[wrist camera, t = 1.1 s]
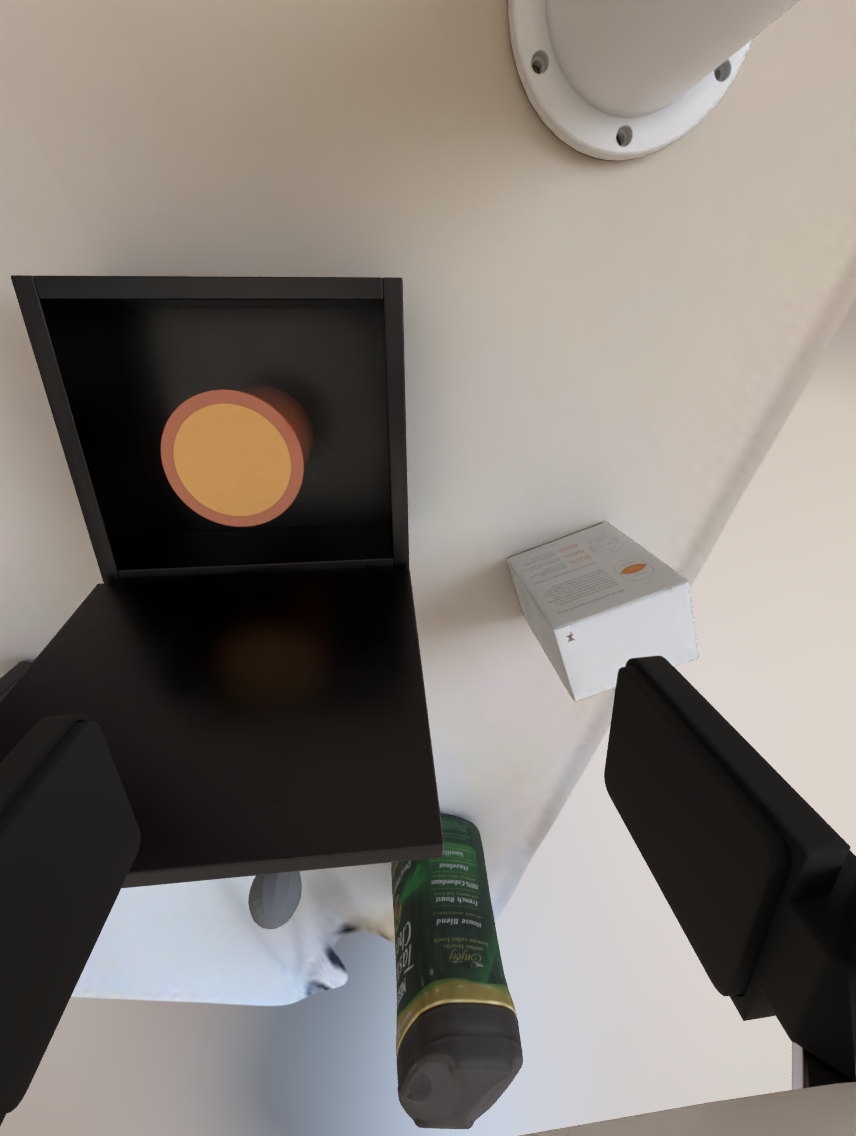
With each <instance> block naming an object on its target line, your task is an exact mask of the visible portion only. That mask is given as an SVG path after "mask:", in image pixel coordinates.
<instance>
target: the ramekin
mask: <svg viewBox="0 0 856 1136" xmlns="http://www.w3.org/2000/svg"><path fill="white" fill-rule="evenodd" d="M313 448H314V432H313V427H312V424H311V421H310V419H309V417H308V415H307V413H306V411H305V410H304V408H303V407H302V406H301V405H300V404H299V402H298V401H297V400H296V399H294V398H293V397H292V396H291V395H289V394H288V393H286V392H284V391H282V390H280V389H278V388H275V387H272V386H267V385H249V386H244V387H241V388H238V389H235V390H233V389H216V390H210V391H205V392H202V393H199V394H197V395H194V396H192V397H191V398H189V399H187V400H185V401H184V402H183V403H182V404H180V405H179V406H178V407H177V408H176V409H175V411H174V412H173V413H172V414H171V416H170V417H169V419H168V421H167V423H166V425H165V427H164V430H163V434H162V439H161V459H162V465H163V468H164V472H165V474H166V477H167V479H168V481H169V483H170V485H171V486H172V488H173V490H174V491H175V492H176V494H177V495H178V496H179V498H180V499H181V500H182V501H183V502H184V503H185V504H186V505H187V506H189V507H190V508H191V509H192V510H193V511H195V512H196V513H198V514H199V515H201V516H203V517H205V518H207V519H209V520H211V521H214V522H216V523H219V524H223V525H227V526H234V527H249V526H256V525H260V524H263V523H266V522H269V521H271V520H273V519H275V518H277V517H278V516H279V515H281V514H282V513H283V512H284V511H285V510H287V509H288V508H289V506H290V505H291V504H292V503H293V501H294V500H295V498H296V496H297V495H298V493H299V490H300V488H301V485H302V481H303V477H304V469H305V468H306V466H307V464H308V462H309V460H310V458H311V456H312V453H313Z"/></svg>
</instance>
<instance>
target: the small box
mask: <svg viewBox="0 0 856 1136" xmlns="http://www.w3.org/2000/svg"><path fill="white" fill-rule="evenodd" d="M507 563H508V566H509V569H510V572H511V576H512V579H513V582H514V585H515V588H516V591H517V595H518V598H519V601H520V604H521V607H522V610H523V614H524V617H525V619H526V621H527V622H528V624H529V626H530V628H531V629H532V631H533V633H534V635H535V636H536V638H537V640H538V641H539V643H540V645H541V646H542V648H543V650H544V652H545V653H546V655H547V657H548V658H549V660H550V662H551V663H552V665H553V667H554V668H555V670H556V672H557V674H558V675H559V677H560V679H561V681H562V682H563V684H564V686H565V687H566V689H567V691H568V692H569V694H570V696H571V697H572V699H573V700H574V701H575V702H578V701H580V700H583V699H586V698H588V697H591V696H594V695H597V694H599V693H602V692H605V691H608V690H611V689H613V688H616V682H617V674H618V670H619V669H620V668H621V667H625V666H626V663H627V661H628V660H629V659H631V658H639V657H649V656H663V657H664V658H665V659H667V660H668V662H669V663H670V664H671V665H672V666H673V667H675V666H677V665H680V664H683V663H686V662H689V661H692V660H694V659H697V658H698V657H699V654H698V647H697V641H696V640H697V639H696V632H695V624H694V616H693V610H692V601H691V594H690V585H689V581H688V580H687V579H686V578H685V577H683V576H682V575H680V574H679V573H678V572H676V571H675V570H673V569H672V568H671V567H669V566H668V565H667V564H665V563H664V562H662V561H661V560H660V559H658V558H657V557H655V556H654V555H653V554H651V553H650V552H649V551H647V550H646V549H645V548H643V547H642V546H640V545H639V544H638V543H636V542H635V541H633V540H632V539H631V538H629V537H628V536H626V535H625V534H624V533H622V532H621V531H619V530H618V529H617V528H615V527H614V526H613V525H611V524H610V523H609V522H603V523H601V524H598V525H596V526H593V527H591V528H588V529H585V530H582V531H580V532H577V533H574V534H572V535H569V536H566V537H564V538H561V539H558V540H556V541H553V542H550V543H548V544H545V545H542V546H540V547H537V548H534V549H532V550H529V551H526V552H524V553H521V554H518V555H516V556H513V557H510V558H508V559H507Z"/></svg>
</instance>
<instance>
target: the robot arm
mask: <svg viewBox="0 0 856 1136" xmlns="http://www.w3.org/2000/svg"><path fill="white" fill-rule="evenodd" d="M799 1H800V0H509V6H508V15H509V25H510V36H511V45H512V49H513V54H514V58H515V62H516V66H517V70H518V74H519V77H520V79H521V81H522V84H523V86H524V89H525V91H526V93H527V96H528V98H529V101H530V102H531V104H532V105H533V107H534V108H535V110H536V111H537V113H538V115H539V116H540V118H541V119H542V121H543V122H544V123H545V124H546V125H547V126H548V128H549V129H550V130H551V131H552V132H553V133H554V134H555V135H556V136H557V137H558V138H559V139H560V140H562V141H563V142H565V143H566V144H568V145H569V146H571V147H572V148H574V149H575V150H577V151H578V152H581V153H584V154H586V155H589V156H592V157H595V158H598V159H606V160H617V161H621V160H628V159H634V158H641V157H643V156H646V155H648V154H651V153H653V152H656V151H658V150H661V149H663V148H664V147H666V146H667V145H669V144H671V143H672V142H674V141H676V140H677V139H679V138H680V137H682V136H683V135H684V134H685V133H687V132H688V131H689V130H691V129H692V128H693V127H694V126H696V125H697V124H698V123H699V122H701V121H702V119H703V118H704V117H705V116H706V115H707V114H708V113H709V112H710V111H711V109H712V108H713V107H714V106H715V105H716V104H717V103H718V102H719V101H720V99H721V98H722V96H723V95H724V93H725V92H726V90H727V89H728V87H729V86H730V85H731V83H732V82H733V80H734V78H735V76H736V75H737V73H738V70H739V68H740V66H741V64H742V62H743V60H744V58H745V56H746V54H747V52H748V50H749V48H750V45H751V42H752V39H753V38H754V37H756V36H757V35H758V34H759V33H761V32H762V31H763V30H764V29H766V28H767V27H768V26H769V25H771V24H772V23H773V22H774V21H775V20H777V19H778V18H779V17H780V16H782V15H783V14H784V13H785V12H787V11H788V10H789V9H790V8H792V7H793V6H794V5H795V4H797V3H798V2H799ZM533 65H536V66H537V67H538V68H539V74H538V73H535V72H534V70H533V69H532V66H533ZM714 75H715V76H714ZM616 137H619V138H620V140H621V144H620V145H619V144H618V143H617V141H616ZM604 777H605V784H606V788H607V791H608V793H609V795H610V797H611V799H612V801H613V803H614V805H615V807H616V808H617V810H618V812H619V814H620V815H621V818H622V819H623V821H624V823H625V825H626V827H627V829H628V830H629V832H630V834H631V836H632V838H633V839H634V841H635V843H636V845H637V847H638V848H639V850H640V852H641V854H642V856H643V857H644V860H645V861H646V863H647V865H648V867H649V869H650V870H651V872H652V874H653V876H654V878H655V879H656V881H657V883H658V885H659V887H660V889H661V891H662V892H663V894H664V896H665V898H666V900H667V901H668V903H669V905H670V907H671V909H672V911H673V912H674V914H675V916H676V918H677V920H678V921H679V923H680V925H681V927H682V929H683V931H684V933H685V934H686V936H687V938H688V940H689V942H690V943H691V945H692V947H693V949H694V951H695V953H696V954H697V956H698V958H699V960H700V962H701V964H702V965H703V967H704V969H705V971H706V973H707V975H708V976H709V978H710V980H711V981H712V983H713V985H714V986H715V988H716V989H717V990H718V992H720V993H721V994H722V995H723V996H730V997H731V999H732V1001H733V1003H734V1005H735V1006H736V1008H737V1010H738V1011H739V1013H740V1015H741V1017H742V1019H743V1020H744V1021H746V1020H751V1019H758V1018H764V1017H769V1016H775V1015H776V1016H777V1018H778V1020H779V1021H780V1023H781V1024H782V1026H783V1028H784V1030H785V1031H786V1033H787V1035H788V1036H789V1038H790V1039H791V1041H792V1090H790V1091H783V1092H776V1093H770V1094H763V1095H756V1096H750V1097H744V1098H737V1099H730V1100H724V1101H717V1102H710V1103H704V1104H698V1105H692V1106H687V1107H681V1108H675V1109H669V1110H664V1111H658V1112H652V1113H646V1114H641V1115H635V1116H629V1117H623V1118H618V1119H612V1120H607V1121H601V1122H595V1123H589V1124H583V1125H578V1126H572V1127H566V1128H561V1129H555V1130H549V1131H544V1132H538V1133H532V1134H526V1135H520V1136H856V856H855V855H854V854H853V853H852V852H851V851H850V846H849V845H848V844H847V843H846V842H845V841H844V840H843V839H842V838H841V837H840V836H839V835H838V834H837V833H836V832H835V831H834V830H833V829H832V828H831V827H830V826H829V825H828V824H827V823H826V822H825V821H824V819H823V818H822V817H820V815H819V814H818V813H817V812H816V811H815V810H814V809H813V808H812V807H811V806H810V805H809V804H808V803H807V802H806V801H805V800H804V799H803V798H802V797H801V796H800V795H799V794H798V793H797V792H796V791H795V790H794V789H793V788H792V787H791V786H790V785H789V784H788V783H787V782H786V781H785V780H784V779H783V778H782V777H781V776H780V775H779V774H778V773H777V772H776V771H775V770H774V769H773V768H772V766H771V765H770V764H769V763H768V762H767V761H765V759H764V758H763V757H762V756H761V755H760V754H759V753H758V752H757V751H756V750H755V749H754V748H753V747H752V746H751V745H750V744H749V743H748V742H747V741H746V740H745V739H744V738H743V737H742V736H741V735H740V734H739V733H738V732H737V731H736V730H735V729H734V728H733V727H732V726H731V725H730V724H729V723H728V722H727V721H726V720H725V719H724V718H723V717H722V716H721V715H720V714H719V712H718V711H717V710H715V708H714V707H713V706H712V705H711V704H710V703H709V702H707V700H706V699H705V698H704V697H703V696H702V695H701V694H700V693H699V692H698V691H697V690H696V689H695V688H694V687H693V686H692V685H691V684H690V683H689V682H688V681H687V680H686V679H685V678H684V677H683V676H682V675H681V674H680V673H679V672H678V671H677V670H676V669H675V668H674V667H673V666H672V665H671V664H670V663H669V662H668V660H667V659H665V658H664V657H663V656H649V657H639V658H631V659H629V660H628V661H627V663H626V666H625V667H621V668H620V669H619V670H618V674H617V682H616V689H615V697H614V705H613V712H612V720H611V727H610V735H609V742H608V750H607V758H606V765H605V774H604ZM139 846H140V830H139V827H138V824H137V821H136V819H135V816H134V813H133V811H132V808H131V806H130V803H129V800H128V798H127V795H126V793H125V790H124V787H123V785H122V782H121V779H120V777H119V774H118V772H117V769H116V766H115V764H114V761H113V759H112V756H111V753H110V751H109V748H108V745H107V743H106V740H105V738H104V735H103V732H102V730H101V727H100V725H99V724H98V723H97V722H96V721H90V719H89V718H88V717H87V716H86V715H85V714H70V715H60V716H50V717H45V718H42V719H41V720H40V721H38V722H37V723H36V724H35V725H34V726H33V727H32V729H31V730H30V731H29V732H28V733H27V734H26V735H25V736H24V737H23V738H22V740H21V741H20V742H19V743H18V744H17V745H16V746H15V747H14V748H13V750H12V751H11V752H10V753H9V754H8V755H7V756H6V757H5V758H4V759H3V761H2V762H1V763H0V1125H1V1123H2V1121H3V1119H4V1117H5V1115H6V1113H9V1112H11V1111H12V1110H14V1109H15V1108H16V1107H17V1106H18V1104H19V1103H20V1102H21V1100H22V1099H23V1097H24V1095H25V1093H26V1091H27V1089H28V1087H29V1085H30V1083H31V1081H32V1078H33V1076H34V1074H35V1072H36V1070H37V1068H38V1066H39V1064H40V1061H41V1059H42V1057H43V1055H44V1053H45V1051H46V1049H47V1046H48V1044H49V1042H50V1040H51V1038H52V1036H53V1034H54V1031H55V1029H56V1027H57V1025H58V1023H59V1021H60V1018H61V1016H62V1014H63V1012H64V1010H65V1008H66V1006H67V1003H68V1001H69V999H70V997H71V995H72V993H73V991H74V988H75V986H76V984H77V982H78V980H79V978H80V975H81V973H82V971H83V969H84V967H85V965H86V963H87V960H88V958H89V956H90V954H91V952H92V950H93V948H94V945H95V943H96V941H97V939H98V937H99V935H100V932H101V930H102V928H103V926H104V924H105V922H106V920H107V917H108V915H109V913H110V911H111V909H112V907H113V904H114V902H115V900H116V898H117V896H118V894H119V892H120V889H121V887H122V885H123V883H124V881H125V879H126V877H127V874H128V872H129V870H130V868H131V866H132V864H133V861H134V859H135V857H136V855H137V852H138V850H139Z"/></svg>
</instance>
